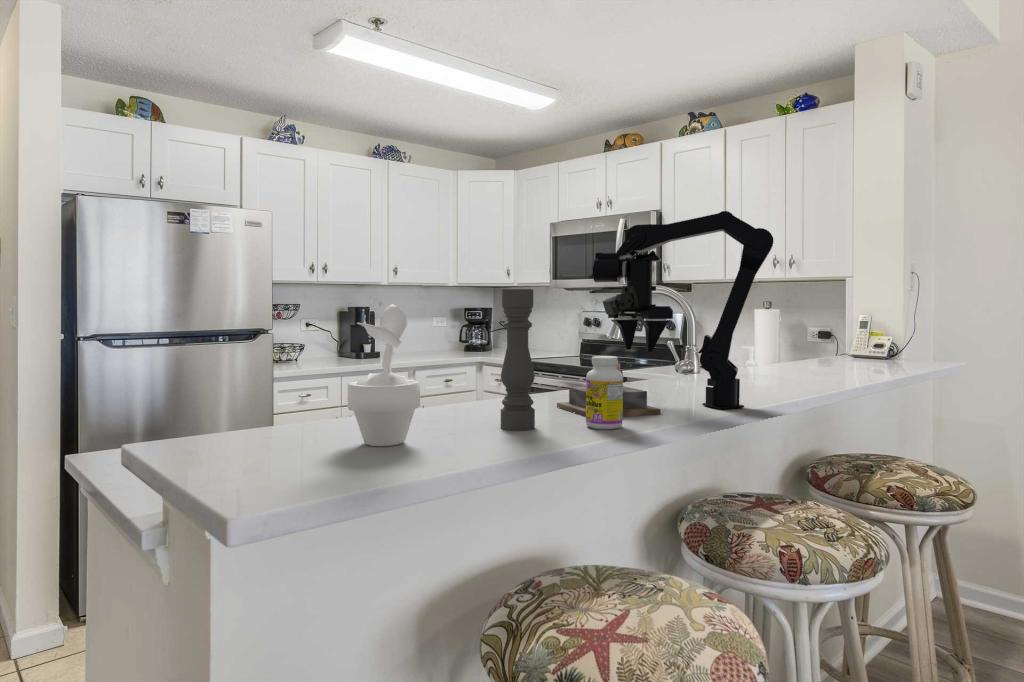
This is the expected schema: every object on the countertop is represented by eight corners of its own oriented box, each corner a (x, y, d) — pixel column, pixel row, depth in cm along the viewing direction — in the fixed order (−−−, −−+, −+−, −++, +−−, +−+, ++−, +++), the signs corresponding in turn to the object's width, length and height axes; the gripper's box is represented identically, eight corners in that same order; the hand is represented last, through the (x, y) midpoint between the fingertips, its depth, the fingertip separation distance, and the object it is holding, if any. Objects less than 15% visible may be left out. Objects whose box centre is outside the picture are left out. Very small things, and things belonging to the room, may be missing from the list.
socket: (620, 403, 150) (620, 383, 149) (660, 413, 135) (660, 391, 134) (556, 407, 144) (556, 386, 144) (590, 418, 129) (591, 395, 129)
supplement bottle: (579, 425, 121) (579, 356, 121) (609, 422, 124) (609, 355, 124) (598, 431, 115) (599, 358, 115) (630, 428, 118) (630, 357, 118)
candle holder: (540, 429, 117) (540, 289, 116) (508, 431, 115) (507, 288, 114) (526, 423, 123) (526, 290, 122) (495, 425, 121) (495, 289, 120)
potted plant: (379, 433, 113) (377, 288, 112) (434, 440, 108) (433, 287, 107) (326, 447, 102) (323, 286, 101) (385, 455, 97) (383, 285, 96)
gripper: (588, 282, 155) (588, 349, 155) (629, 279, 137) (629, 354, 138) (629, 283, 158) (629, 348, 159) (675, 280, 141) (674, 352, 142)
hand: (638, 350), depth 149 cm, fingers open, 9 cm apart
